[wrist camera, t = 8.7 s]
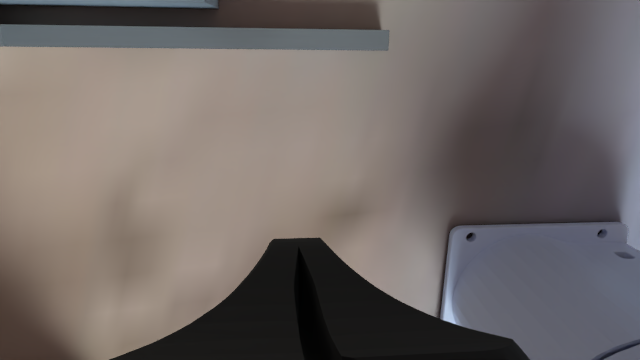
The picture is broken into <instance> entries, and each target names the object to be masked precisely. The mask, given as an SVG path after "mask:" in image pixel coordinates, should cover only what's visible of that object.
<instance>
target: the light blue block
mask: <svg viewBox="0 0 640 360" xmlns="http://www.w3.org/2000/svg"><path fill="white" fill-rule="evenodd" d="M0 5H46V6H98V7H150V8H203V9H219V5H218V0H0Z"/></svg>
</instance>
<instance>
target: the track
mask: <svg viewBox="0 0 640 360" xmlns="http://www.w3.org/2000/svg"><path fill="white" fill-rule="evenodd" d="M388 45H389V30H351V29H283V28H216V27H149V26H82V25H15V24H0V46H20V47H112V48H204V49H296V50H388Z"/></svg>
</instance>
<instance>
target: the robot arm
mask: <svg viewBox="0 0 640 360" xmlns="http://www.w3.org/2000/svg"><path fill="white" fill-rule="evenodd" d="M600 230H602V231H601V233H600V234H599V235H597V234H598V232H599V231H600ZM471 232H472V233H473V235H472V237H471V238H469V239H466V236H467V235H468V234H469V233H471ZM628 234H629V228H628V226H626V225H625V224H623V223H621V222H589V223H547V224H505V225H463V226H456V227H454V228H453V229H452V230H451V231H450V235H449V243H448V252H447V261H446V270H445V279H444V289H443V298H442V307H441V316H440V319H439V318H436V317H434V316H431V315H428V314H426V313H424V312H422V311H419V310H417V309H415V308H413V307H411V306H408V305H406V304H404V303H402V302H400V301H398V300H397V299H395V298H393V297H391V296H390V295H388V294H386V293H385V292H383V291H381V290H380V289H378V288H377V287H375V286H374V285H372V284H371V283H369V282H368V281H367V280H365V279H364V278H363V277H361V276H360V275H359V274H357V273H356V272H355V271H354V270H352V269H351V268H350V267H349V266H348V265H347V264H346V263H344V262H343V261H342V260H341V259H340V258H339V257H338V256H337V255H336V254H335V253H334V252H333V251H332V250H331V249H330V248H329V247H328V246H327V244H326V243H325V242H324V241H323V240H322V239H321V238H294V239H273V240H272V241H271V242H270V243H269V246H268V247H267V249H266V251H265V253H264V254H263V256H262V257H261V259H260V260H259V262H258V263H257V264H256V266H255V267H254V268H253V270H252V271H251V272H250V274H249V275H248V276H247V277H246V278H245V279H244V280H243V281H242V283H241V284H240V285H239V286H238V287H237V288H236V289H235V290H234V291H233V292H232V293H231V294H230V295H229V296H228V297H227V298H226V299H225V300H223V301H222V302H221V303H220V304H218V305H217V306H216V307H215V308H213V309H212V310H210V311H209V312H207V313H206V314H204V315H203V316H201V317H200V318H198V319H197V320H195V321H194V322H192V323H191V324H189V325H187V326H185V327H184V328H182V329H180V330H178V331H176V332H174V333H172V334H170V335H168V336H166V337H164V338H162V339H160V340H158V341H156V342H154V343H151V344H149V345H146V346H144V347H141V348H139V349H136V350H134V351H131V352H129V353H126V354H123V355H121V356H118V357H115V358H112V359H110V360H640V251H638V250H636V249H635V248H633V247H631V246H630V245H628V244H626V242H627V238H628Z"/></svg>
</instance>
